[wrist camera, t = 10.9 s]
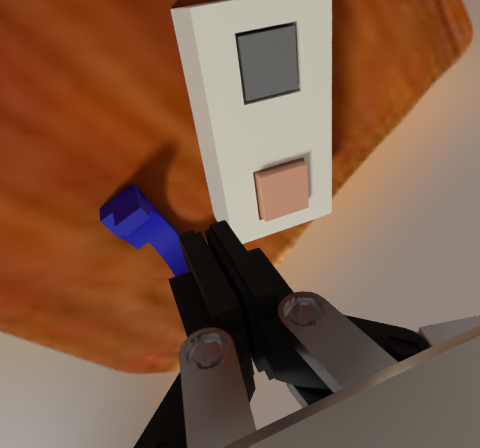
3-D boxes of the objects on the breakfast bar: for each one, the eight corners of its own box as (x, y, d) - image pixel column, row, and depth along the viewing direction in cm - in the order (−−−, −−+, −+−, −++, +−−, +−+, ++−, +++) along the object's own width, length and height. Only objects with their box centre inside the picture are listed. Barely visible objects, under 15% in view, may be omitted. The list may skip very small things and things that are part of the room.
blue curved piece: (99, 208, 38) (101, 236, 34) (132, 183, 38) (140, 207, 34) (167, 271, 45) (177, 302, 41) (195, 250, 45) (209, 278, 41)
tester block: (170, 9, 32) (189, 7, 26) (291, -12, 35) (331, -18, 29) (214, 216, 44) (234, 246, 38) (301, 189, 47) (331, 213, 41)
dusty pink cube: (236, 156, 39) (260, 178, 34) (277, 144, 40) (307, 164, 35) (242, 196, 42) (265, 221, 37) (281, 184, 43) (308, 207, 38)
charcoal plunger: (214, 33, 34) (238, 36, 28) (262, 23, 35) (295, 25, 29) (223, 88, 36) (246, 101, 31) (267, 78, 37) (298, 88, 32)
